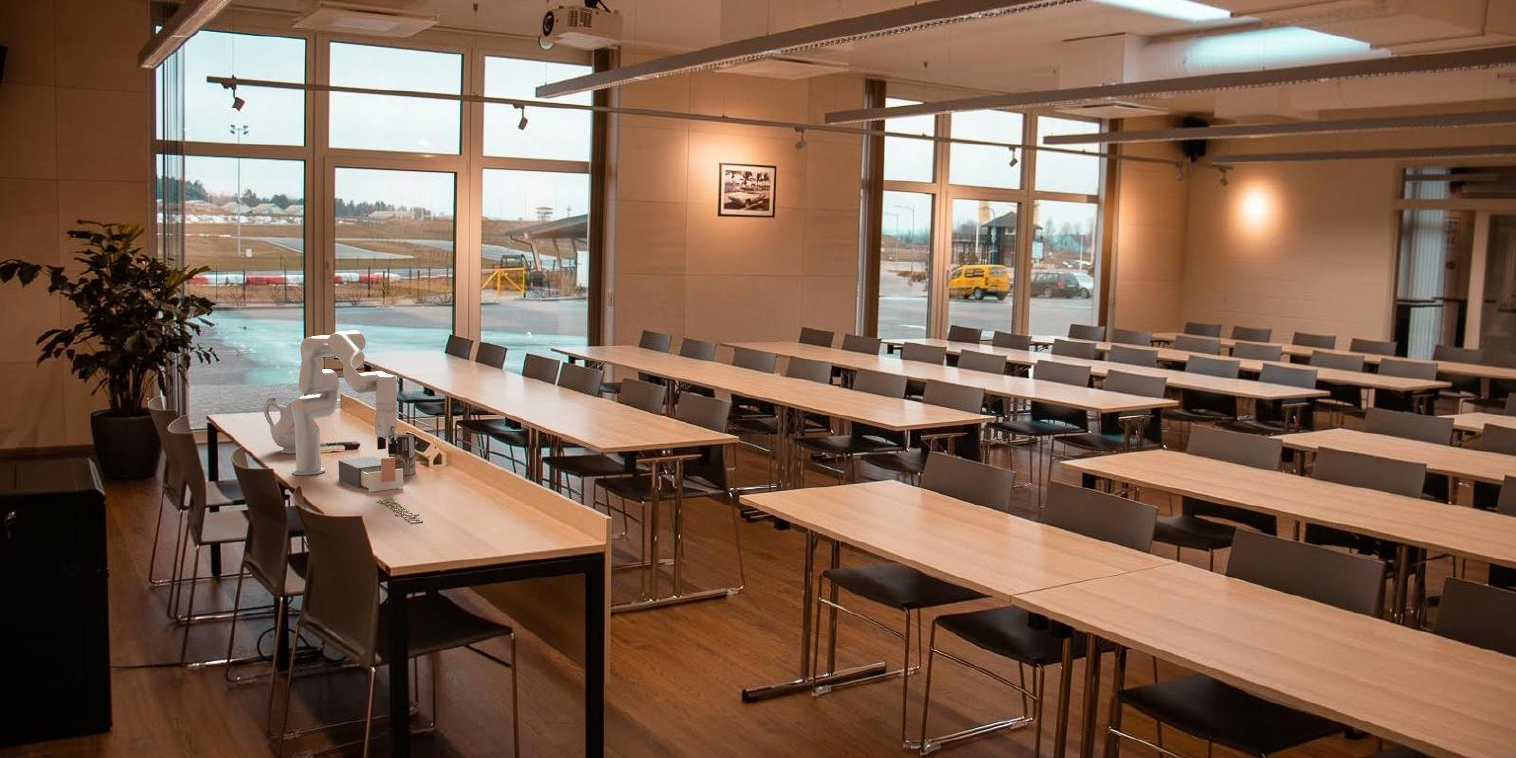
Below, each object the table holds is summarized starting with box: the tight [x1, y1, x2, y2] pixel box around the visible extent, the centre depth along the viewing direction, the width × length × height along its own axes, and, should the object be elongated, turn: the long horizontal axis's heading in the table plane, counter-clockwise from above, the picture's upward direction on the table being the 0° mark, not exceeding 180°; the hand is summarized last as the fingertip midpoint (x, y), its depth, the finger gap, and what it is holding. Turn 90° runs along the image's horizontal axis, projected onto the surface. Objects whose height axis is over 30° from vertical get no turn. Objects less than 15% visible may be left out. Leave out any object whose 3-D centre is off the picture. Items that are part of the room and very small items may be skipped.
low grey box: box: [337, 455, 382, 489], centre depth 475 cm, size 19×14×8 cm
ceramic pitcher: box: [263, 397, 296, 455], centre depth 534 cm, size 22×20×25 cm
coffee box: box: [387, 433, 417, 476], centre depth 490 cm, size 9×6×16 cm
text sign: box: [375, 498, 425, 524], centre depth 428 cm, size 40×1×8 cm
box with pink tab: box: [360, 457, 404, 493], centre depth 466 cm, size 21×14×13 cm, turn 41°
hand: (387, 451), depth 457 cm, fingers open, 9 cm apart
